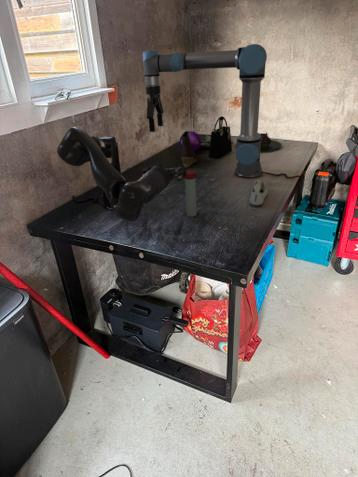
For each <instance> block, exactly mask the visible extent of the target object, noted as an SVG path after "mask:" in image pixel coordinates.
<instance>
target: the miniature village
mask: <svg viewBox="0 0 358 477" xmlns="http://www.w3.org/2000/svg"><path fill="white" fill-rule="evenodd" d="M260 134H261V138H262V139H261V150H260V154H262V153H271V152H276V151H279V150H280V149H281V148H282V143H281V142H279V141H277V140H272V139H271V137H270V136H269V134H268V132H265V133H262V132H260ZM235 148H236V149H237V142H236V144H235Z"/></svg>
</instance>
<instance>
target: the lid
mask: <svg viewBox="0 0 358 477" xmlns="http://www.w3.org/2000/svg"><path fill="white" fill-rule="evenodd" d="M186 174H187V176H186V177H185V178H184V180H185V179H195V178H196V179H197V171H196V170H194V169H189V170H187V169H186Z"/></svg>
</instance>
